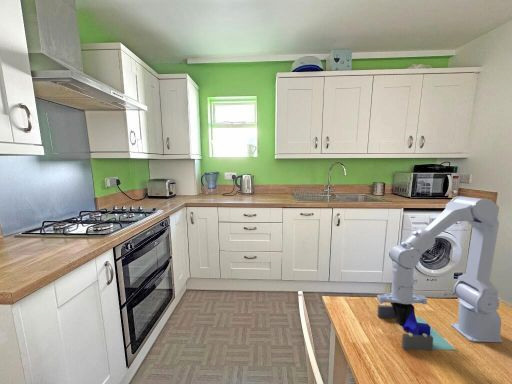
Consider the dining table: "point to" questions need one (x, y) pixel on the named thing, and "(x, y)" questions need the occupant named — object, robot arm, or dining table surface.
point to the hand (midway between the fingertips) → (400, 323)
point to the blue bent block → (416, 326)
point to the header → (409, 340)
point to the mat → (437, 338)
